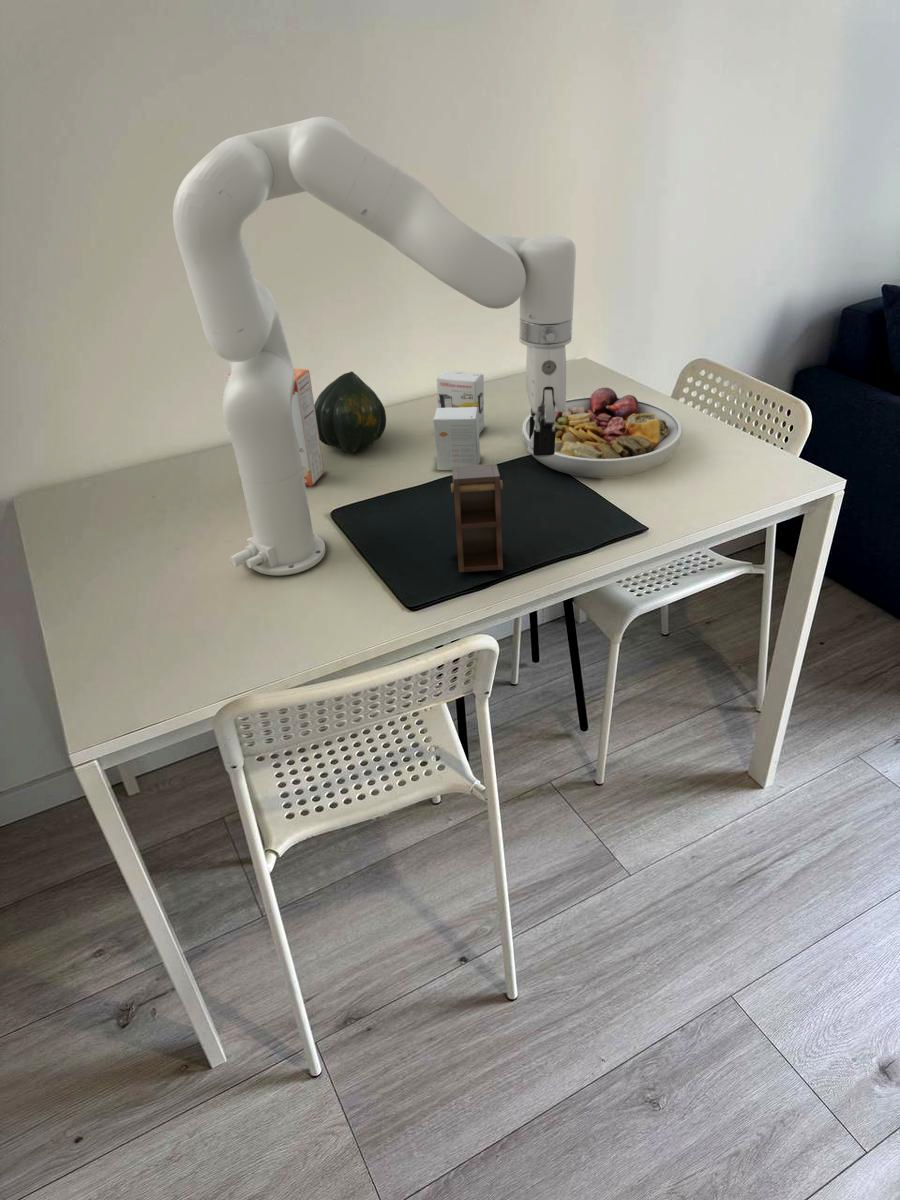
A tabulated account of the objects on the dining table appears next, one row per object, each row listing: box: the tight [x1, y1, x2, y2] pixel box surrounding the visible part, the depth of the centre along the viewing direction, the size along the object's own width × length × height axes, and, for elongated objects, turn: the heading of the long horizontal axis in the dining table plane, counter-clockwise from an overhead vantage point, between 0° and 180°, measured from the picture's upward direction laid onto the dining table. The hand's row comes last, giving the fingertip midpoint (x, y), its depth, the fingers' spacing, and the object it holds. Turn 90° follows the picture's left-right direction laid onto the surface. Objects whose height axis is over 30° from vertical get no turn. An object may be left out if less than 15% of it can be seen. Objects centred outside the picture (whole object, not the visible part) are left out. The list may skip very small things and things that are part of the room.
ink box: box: [436, 369, 485, 435], centre depth 176 cm, size 9×5×12 cm, turn 70°
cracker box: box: [225, 368, 325, 487], centre depth 160 cm, size 14×6×21 cm, turn 73°
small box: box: [432, 407, 481, 471], centre depth 163 cm, size 8×6×10 cm
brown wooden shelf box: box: [450, 463, 504, 573], centre depth 132 cm, size 15×8×6 cm
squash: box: [314, 371, 387, 454], centre depth 173 cm, size 14×15×15 cm
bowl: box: [521, 387, 683, 479], centre depth 166 cm, size 30×30×8 cm
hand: (541, 446), depth 134 cm, fingers closed on rook chess piece, 4 cm apart
